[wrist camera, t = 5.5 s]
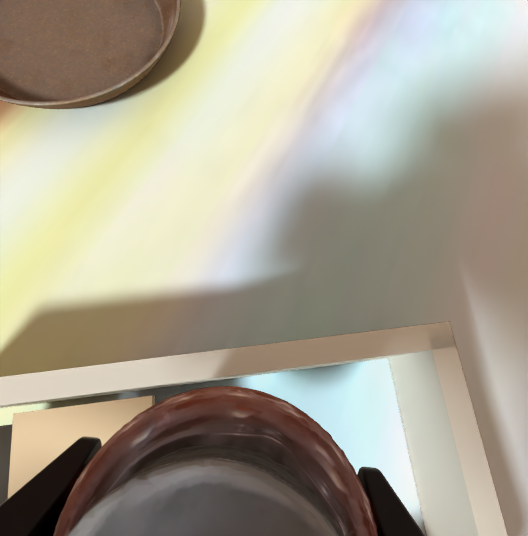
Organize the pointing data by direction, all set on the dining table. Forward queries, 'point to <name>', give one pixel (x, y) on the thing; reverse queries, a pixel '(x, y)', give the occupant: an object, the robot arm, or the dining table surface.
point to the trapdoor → (57, 436)
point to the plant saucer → (79, 48)
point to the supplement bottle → (219, 473)
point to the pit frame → (326, 354)
